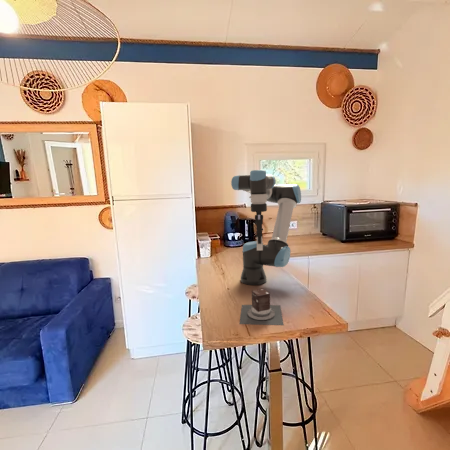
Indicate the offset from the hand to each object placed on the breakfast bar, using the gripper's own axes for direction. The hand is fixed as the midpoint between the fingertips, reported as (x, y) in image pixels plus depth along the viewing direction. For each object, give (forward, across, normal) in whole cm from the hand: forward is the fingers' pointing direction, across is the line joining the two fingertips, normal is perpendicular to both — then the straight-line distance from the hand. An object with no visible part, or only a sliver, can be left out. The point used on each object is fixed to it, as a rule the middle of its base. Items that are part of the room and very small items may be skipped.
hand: (259, 246), depth 134 cm
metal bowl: (+26, +17, 0) cm, 31 cm away
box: (+24, +17, 0) cm, 29 cm away
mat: (+27, +17, 0) cm, 32 cm away
